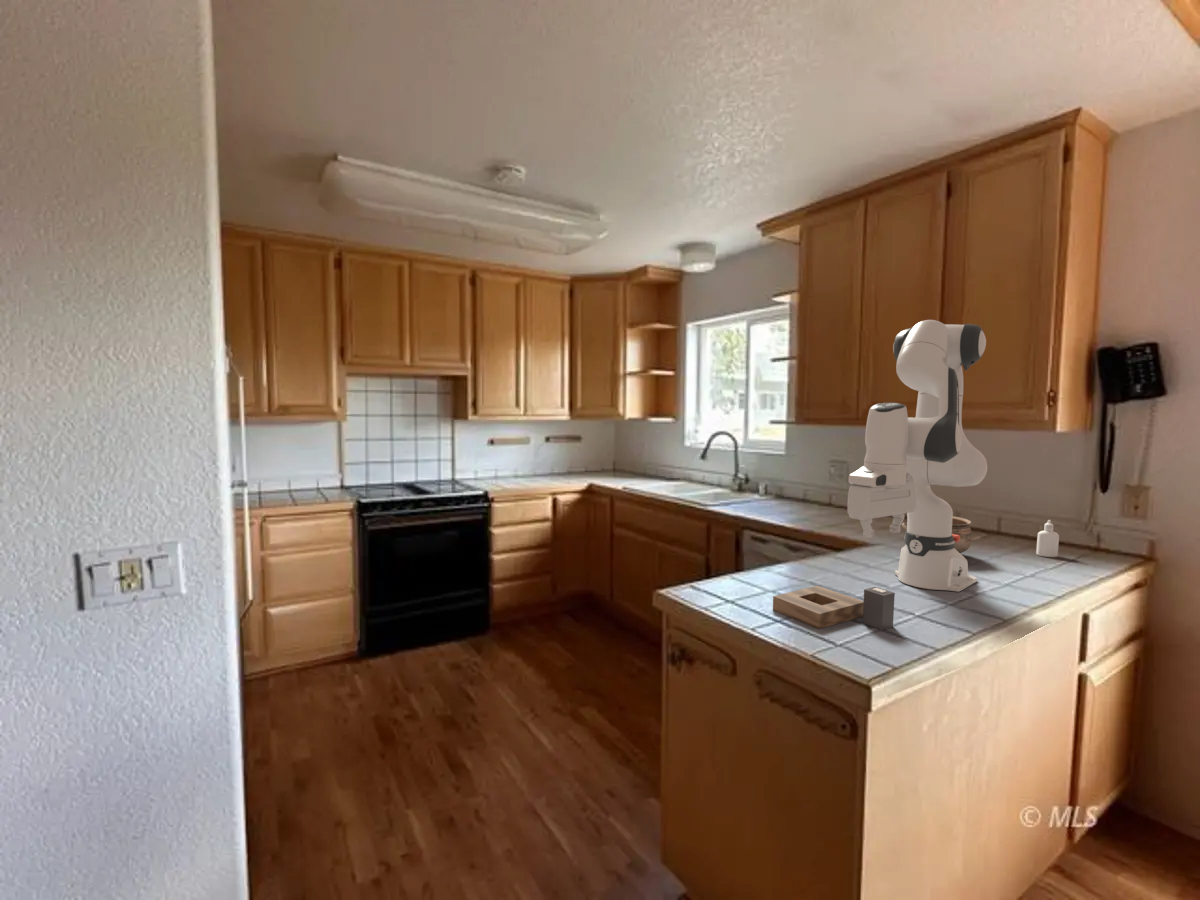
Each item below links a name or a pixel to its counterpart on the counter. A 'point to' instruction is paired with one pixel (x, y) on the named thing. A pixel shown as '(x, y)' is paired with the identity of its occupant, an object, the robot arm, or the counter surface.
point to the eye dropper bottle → (1047, 541)
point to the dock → (818, 606)
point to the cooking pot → (960, 533)
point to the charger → (878, 608)
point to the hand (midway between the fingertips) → (881, 535)
